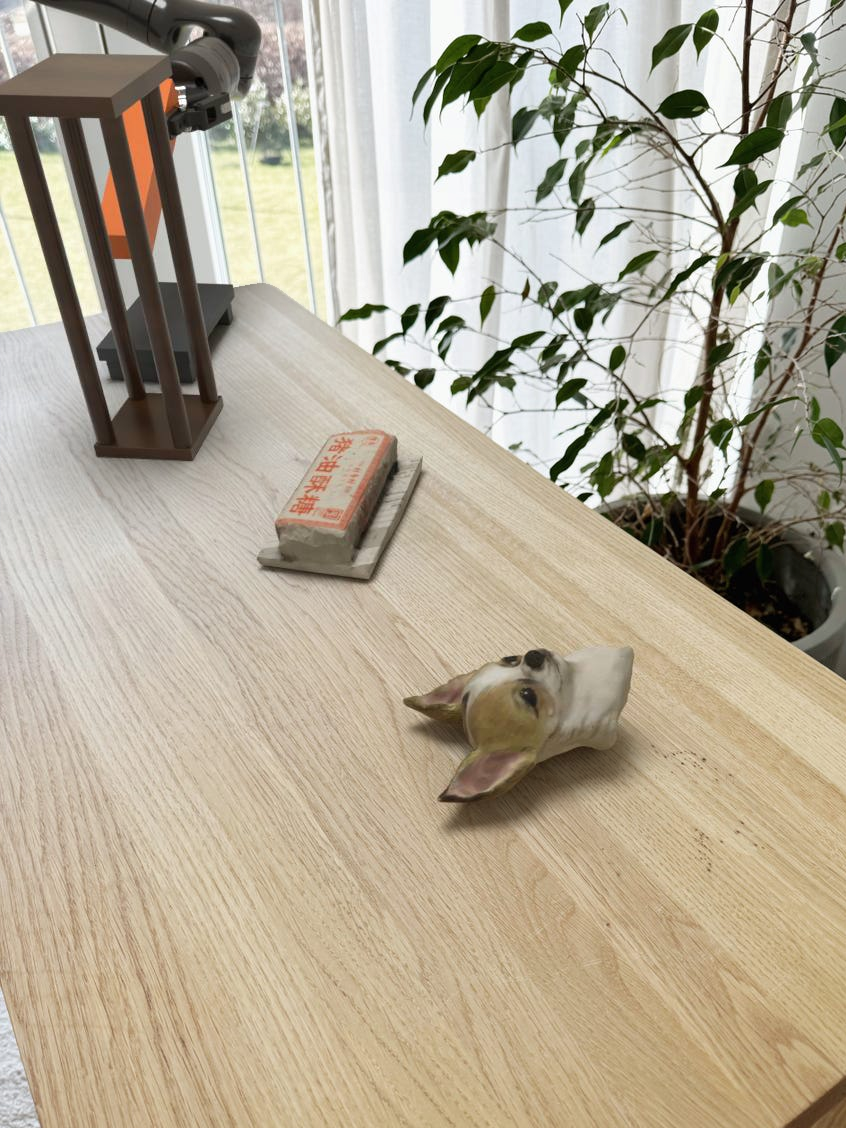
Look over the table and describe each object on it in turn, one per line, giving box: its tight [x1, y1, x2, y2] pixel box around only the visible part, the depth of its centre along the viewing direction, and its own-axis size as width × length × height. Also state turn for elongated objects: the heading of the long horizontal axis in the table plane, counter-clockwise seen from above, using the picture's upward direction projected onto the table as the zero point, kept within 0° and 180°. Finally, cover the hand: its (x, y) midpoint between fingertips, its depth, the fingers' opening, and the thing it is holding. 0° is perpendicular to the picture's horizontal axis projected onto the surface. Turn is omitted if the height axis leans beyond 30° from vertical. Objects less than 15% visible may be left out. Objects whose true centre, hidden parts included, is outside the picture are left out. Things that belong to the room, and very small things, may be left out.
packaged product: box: [256, 428, 424, 580], centre depth 88 cm, size 18×5×10 cm
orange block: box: [101, 79, 179, 260], centre depth 103 cm, size 20×4×4 cm
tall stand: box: [0, 52, 224, 461], centre depth 91 cm, size 14×10×32 cm
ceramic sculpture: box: [402, 644, 635, 804], centre depth 66 cm, size 11×9×15 cm
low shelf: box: [95, 281, 236, 384], centre depth 114 cm, size 18×10×4 cm, turn 175°
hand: (142, 128), depth 103 cm, fingers closed on orange block, 4 cm apart
